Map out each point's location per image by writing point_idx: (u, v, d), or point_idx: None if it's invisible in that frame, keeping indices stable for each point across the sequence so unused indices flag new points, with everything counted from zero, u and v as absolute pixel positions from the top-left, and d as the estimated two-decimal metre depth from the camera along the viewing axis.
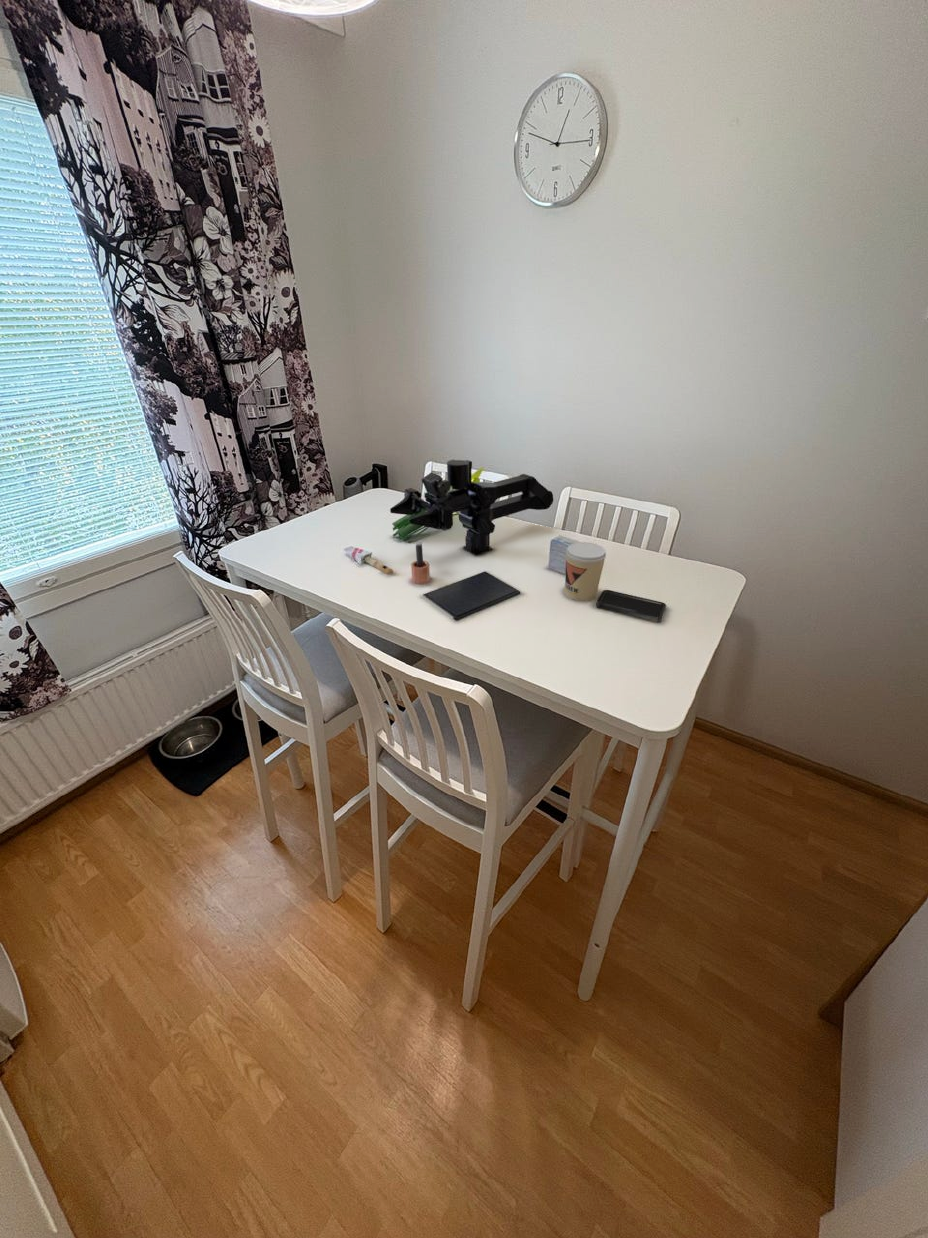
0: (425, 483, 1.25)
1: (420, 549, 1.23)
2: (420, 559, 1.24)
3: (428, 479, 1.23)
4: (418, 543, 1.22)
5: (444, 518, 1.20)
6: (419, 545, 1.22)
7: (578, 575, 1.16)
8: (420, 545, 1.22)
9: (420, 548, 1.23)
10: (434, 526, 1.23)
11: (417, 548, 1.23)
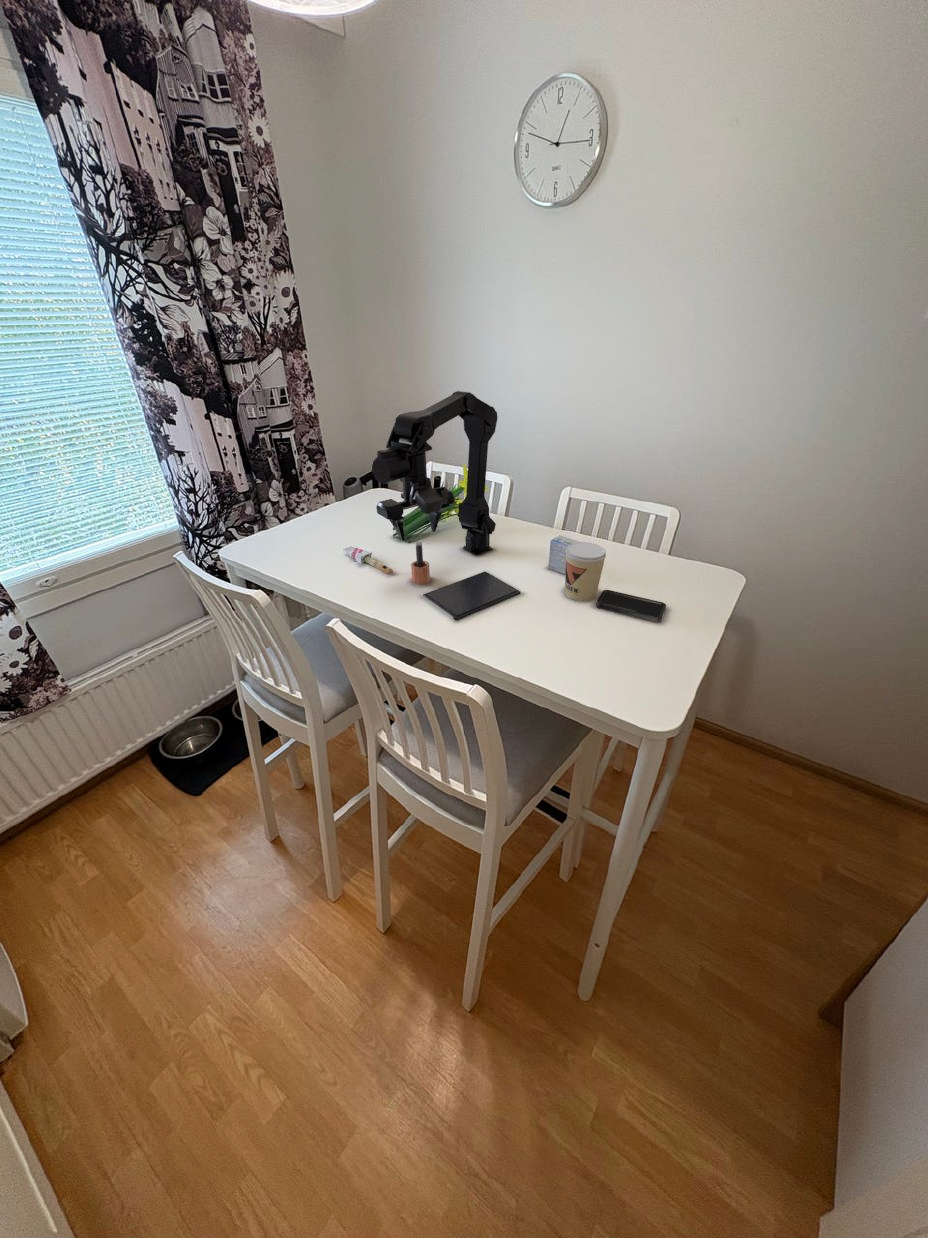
0: None
1: (420, 549, 1.23)
2: (420, 559, 1.24)
3: (435, 510, 1.12)
4: (418, 543, 1.22)
5: None
6: (419, 545, 1.22)
7: (578, 575, 1.16)
8: (420, 545, 1.22)
9: (420, 548, 1.23)
10: None
11: (417, 548, 1.23)
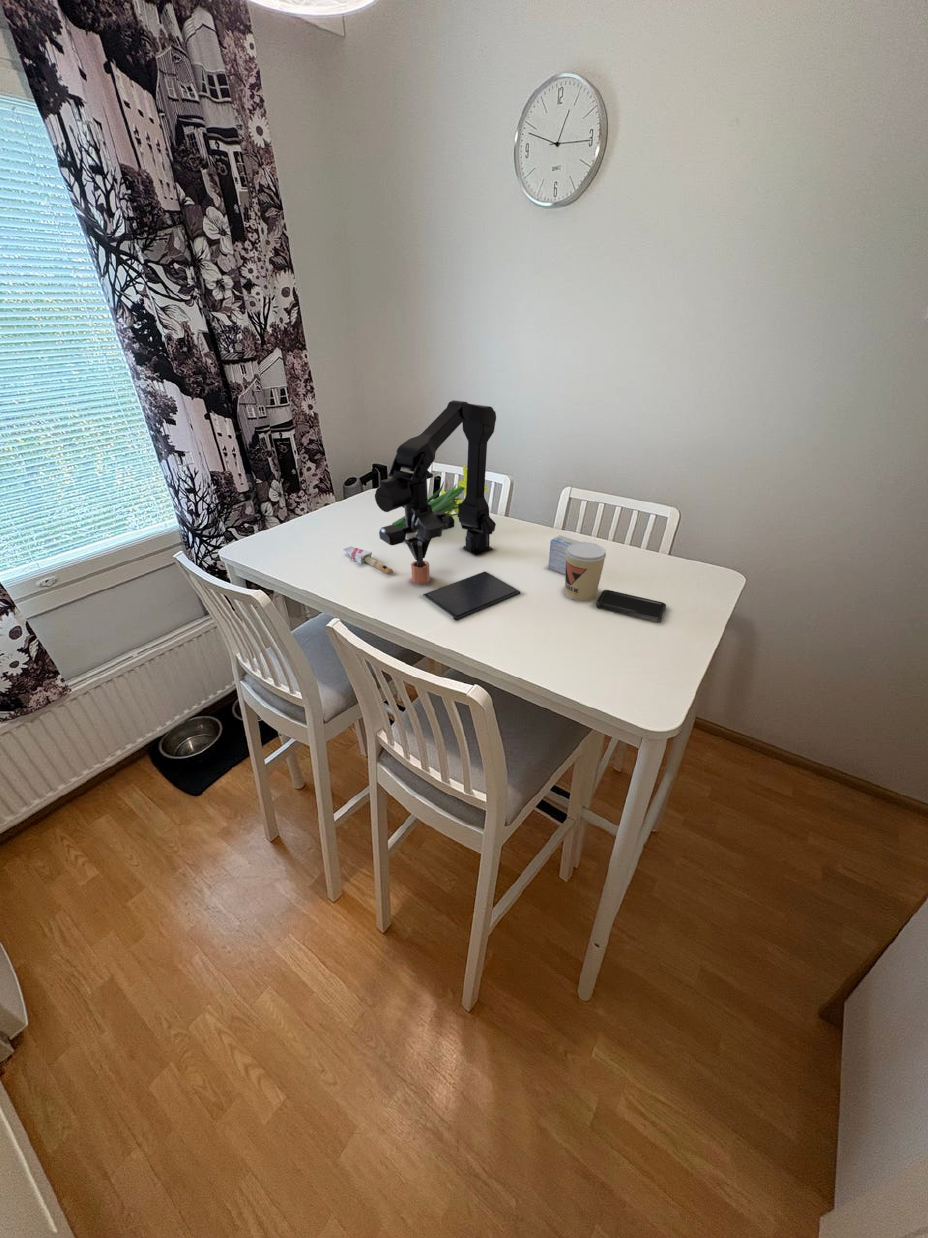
0: None
1: (420, 549, 1.23)
2: (420, 559, 1.24)
3: (436, 535, 1.15)
4: (418, 543, 1.22)
5: None
6: (419, 545, 1.22)
7: (578, 575, 1.16)
8: (420, 545, 1.22)
9: (420, 548, 1.23)
10: None
11: None
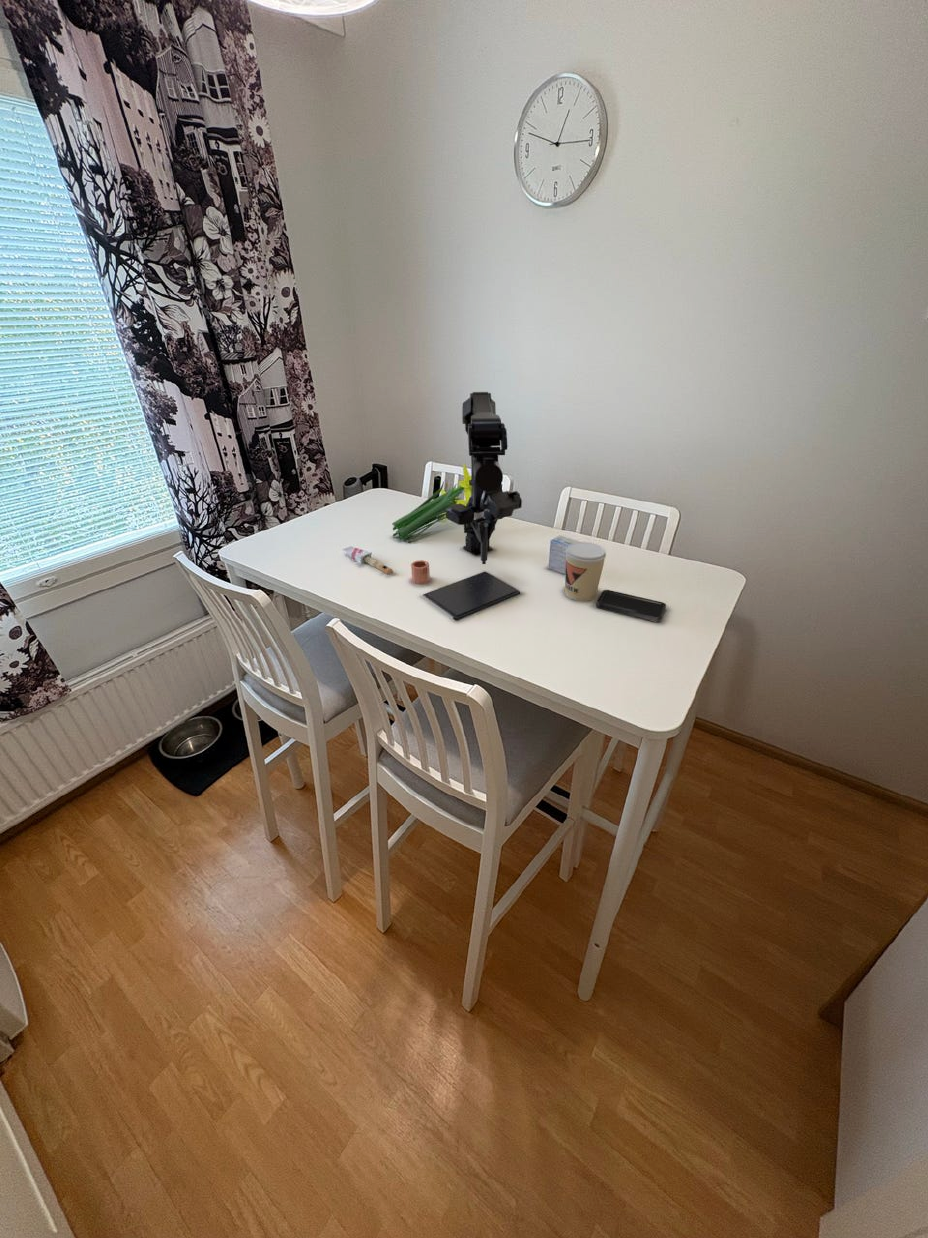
0: None
1: (486, 530, 1.16)
2: (485, 541, 1.18)
3: (507, 515, 1.09)
4: (484, 524, 1.16)
5: None
6: (485, 526, 1.16)
7: (578, 575, 1.16)
8: (486, 526, 1.16)
9: (486, 529, 1.16)
10: None
11: None
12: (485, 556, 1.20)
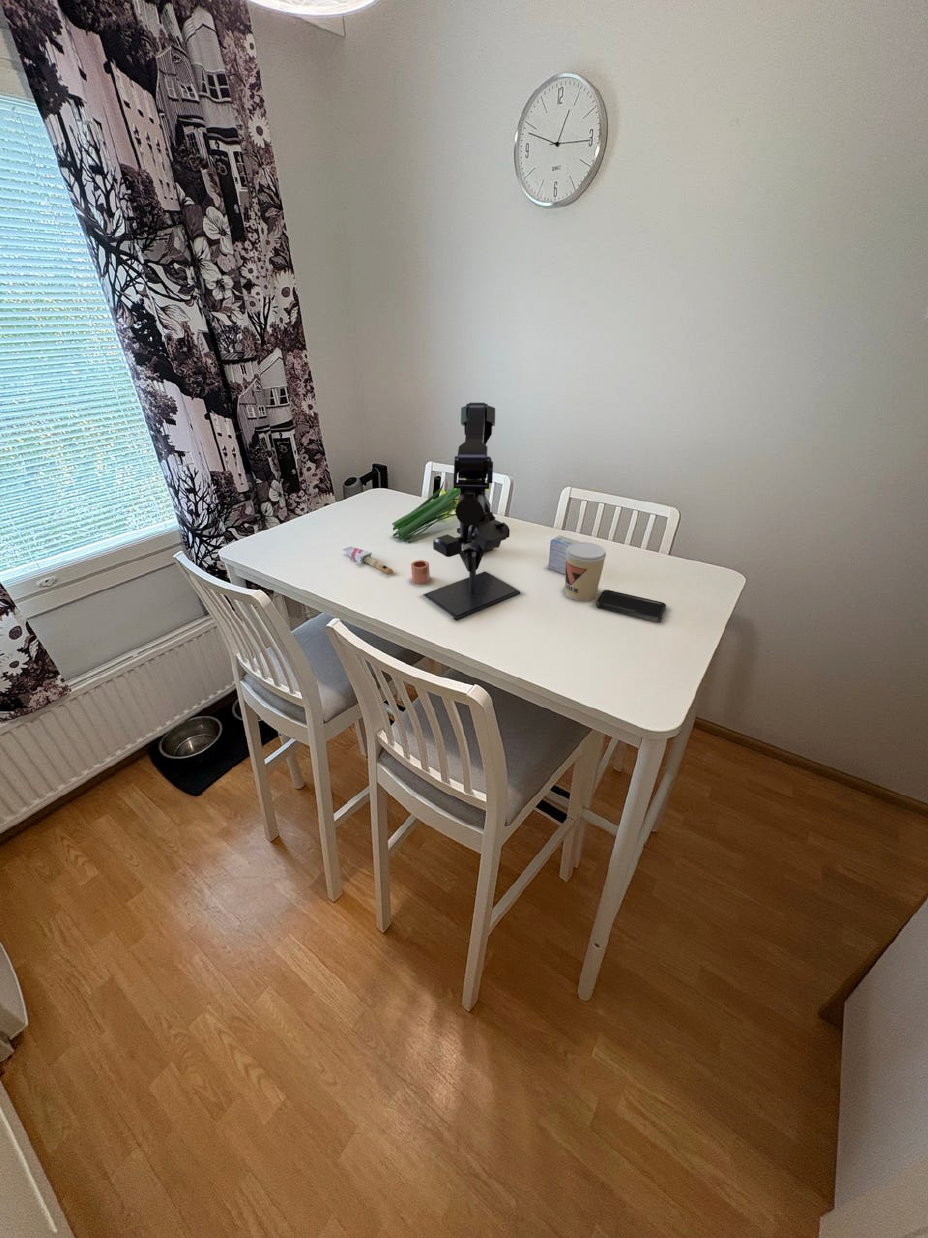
0: None
1: (474, 560, 1.16)
2: (473, 570, 1.18)
3: (495, 546, 1.09)
4: (472, 554, 1.16)
5: None
6: (473, 556, 1.15)
7: (578, 575, 1.16)
8: (474, 556, 1.16)
9: (474, 559, 1.16)
10: None
11: None
12: (474, 585, 1.20)
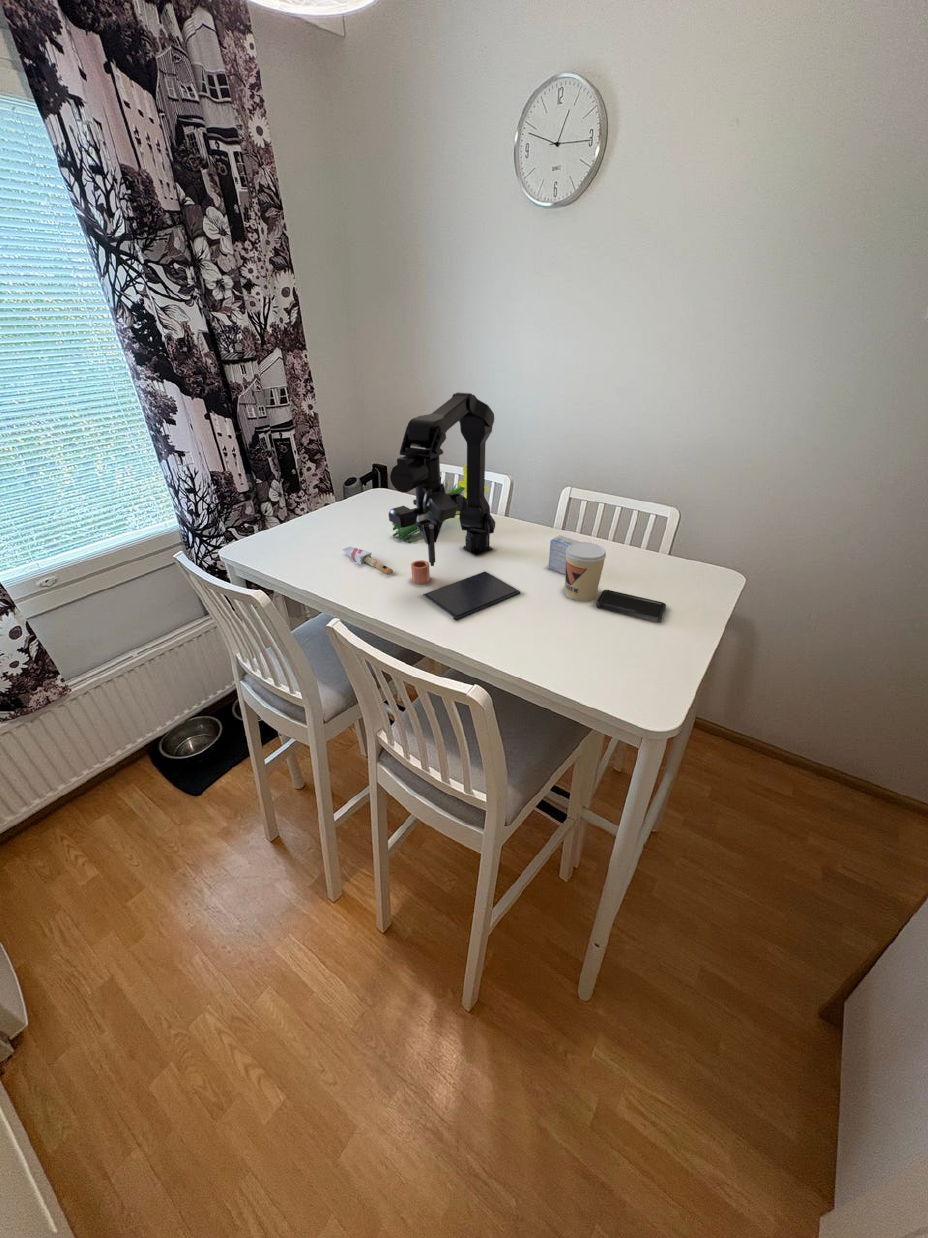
0: None
1: (432, 532, 1.16)
2: (432, 543, 1.17)
3: (450, 517, 1.08)
4: (430, 526, 1.15)
5: None
6: (431, 528, 1.15)
7: (578, 575, 1.16)
8: (432, 528, 1.15)
9: (432, 531, 1.16)
10: None
11: (429, 531, 1.16)
12: (433, 558, 1.19)
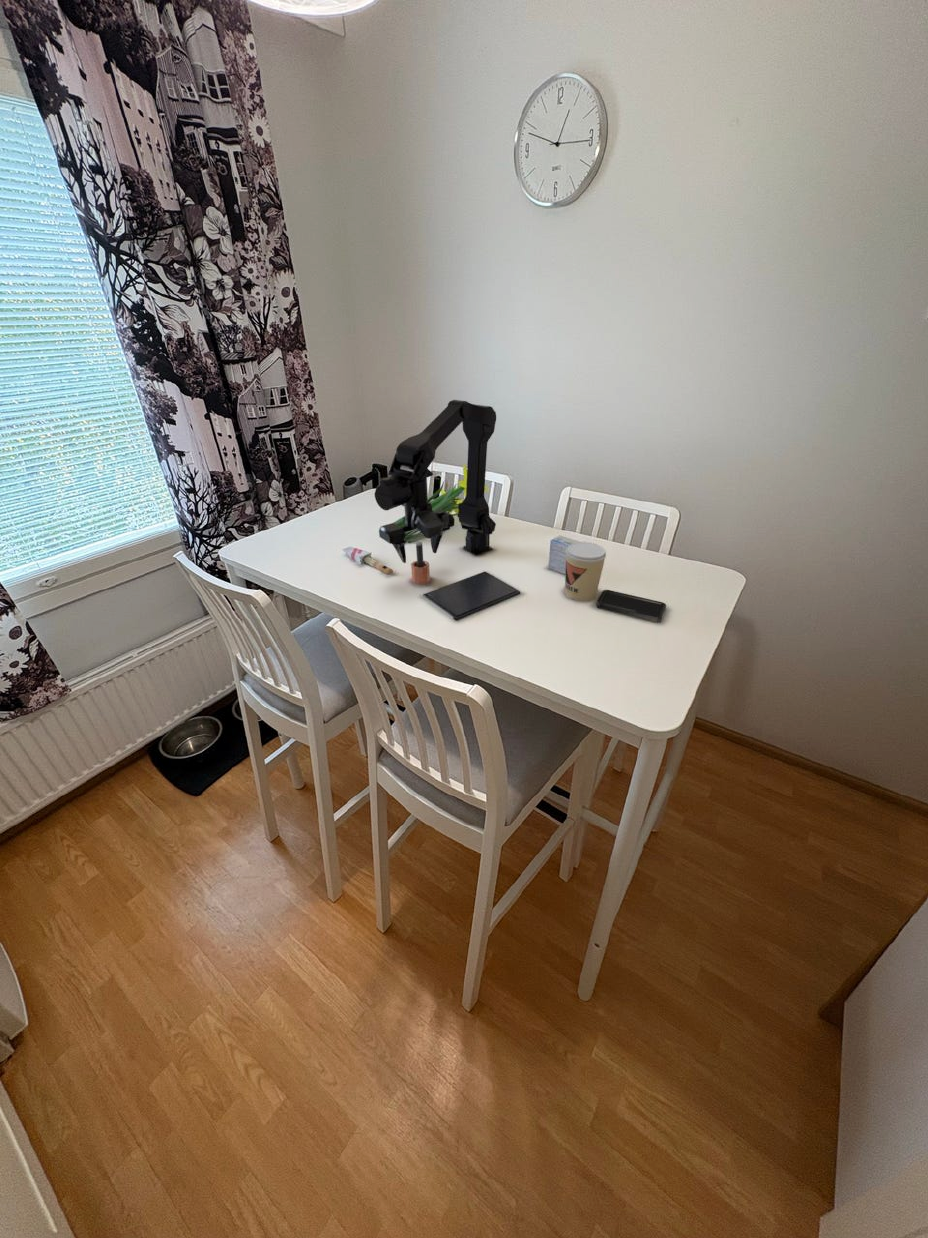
0: None
1: (420, 549, 1.23)
2: (420, 559, 1.24)
3: (436, 534, 1.15)
4: (418, 543, 1.22)
5: None
6: (419, 545, 1.22)
7: (578, 575, 1.16)
8: (420, 545, 1.22)
9: (420, 548, 1.23)
10: None
11: (417, 548, 1.23)
12: None
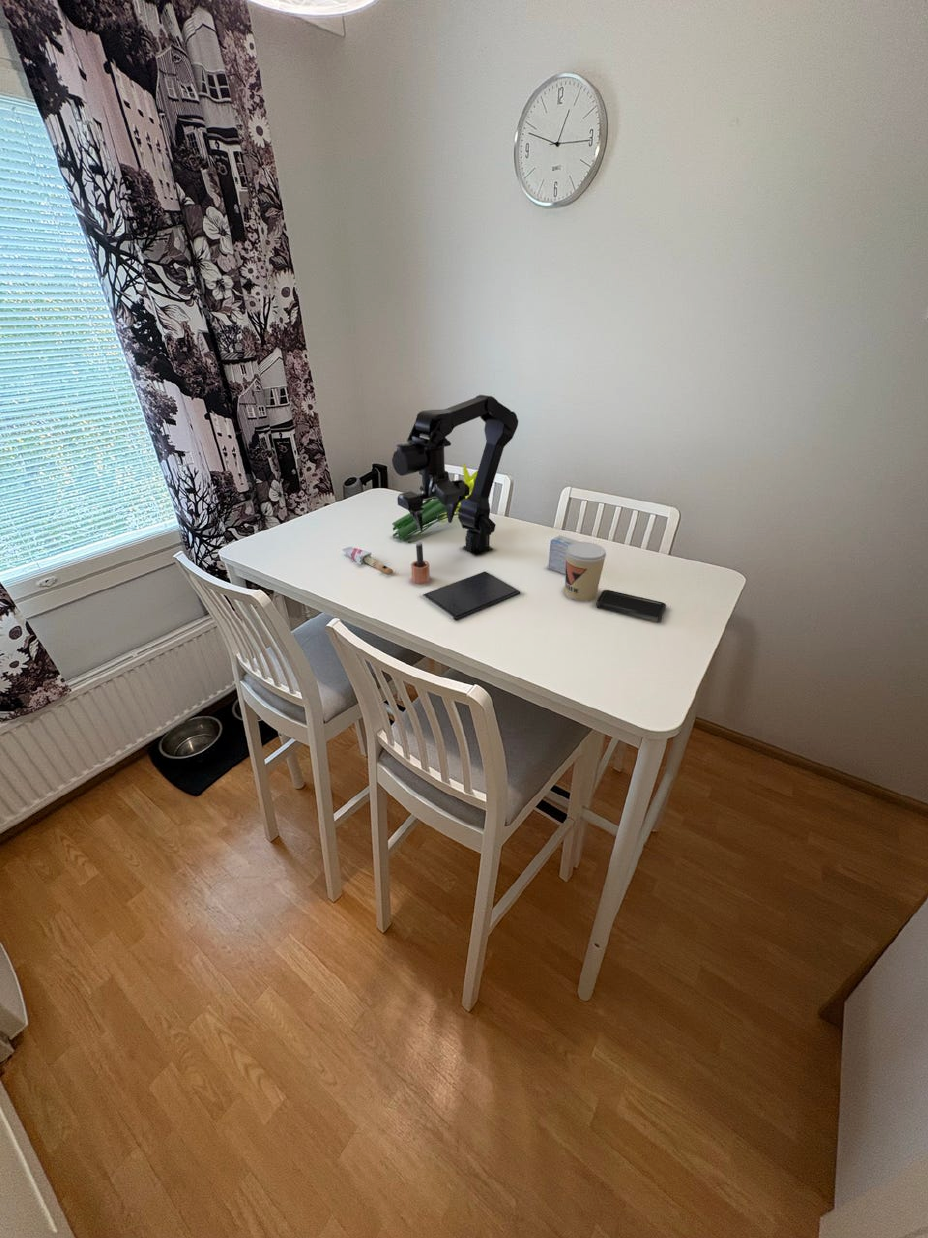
0: None
1: (420, 549, 1.23)
2: (420, 559, 1.24)
3: (453, 501, 1.19)
4: (418, 543, 1.22)
5: None
6: (419, 545, 1.22)
7: (578, 575, 1.16)
8: (420, 545, 1.22)
9: (420, 548, 1.23)
10: None
11: (417, 548, 1.23)
12: None
